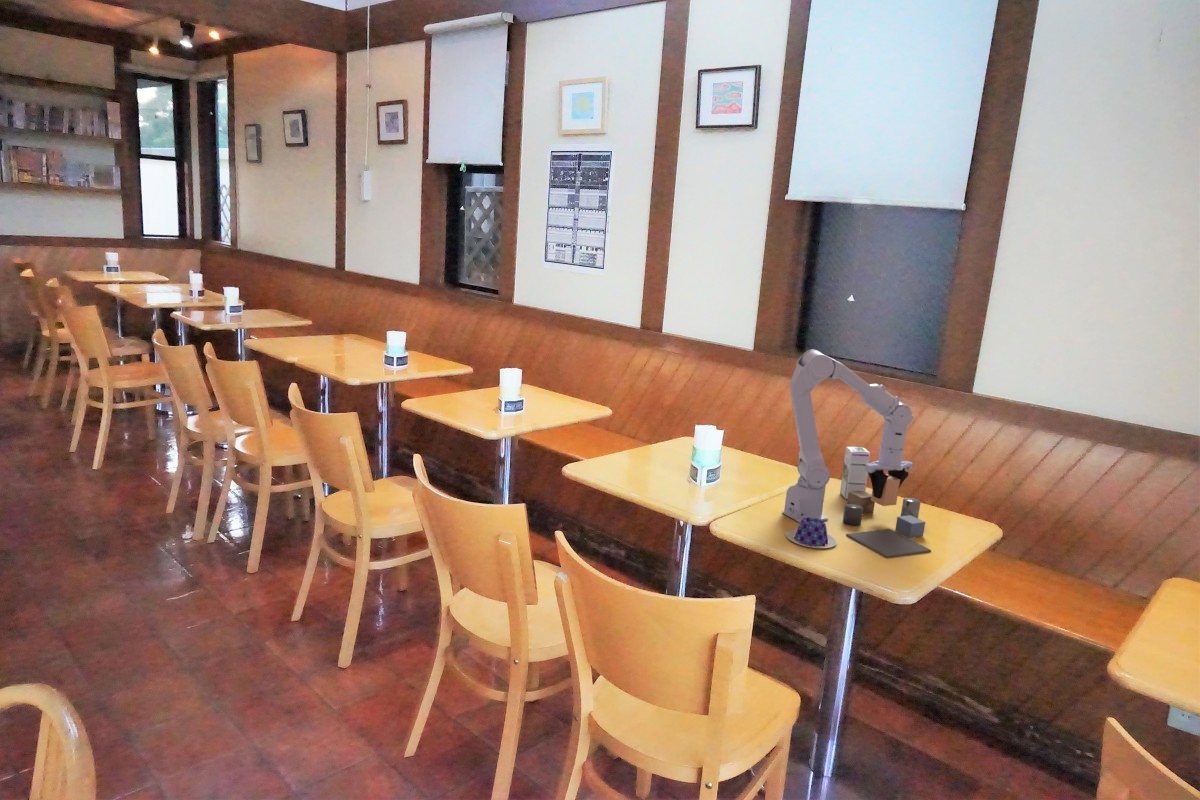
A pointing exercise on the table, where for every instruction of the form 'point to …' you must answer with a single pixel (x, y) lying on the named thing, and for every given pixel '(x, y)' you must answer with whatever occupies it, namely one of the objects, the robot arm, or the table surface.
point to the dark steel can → (910, 507)
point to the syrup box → (854, 470)
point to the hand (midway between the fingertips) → (884, 496)
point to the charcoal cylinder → (852, 515)
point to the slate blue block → (910, 526)
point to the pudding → (811, 534)
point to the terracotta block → (888, 492)
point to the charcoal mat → (888, 543)
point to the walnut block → (861, 500)
